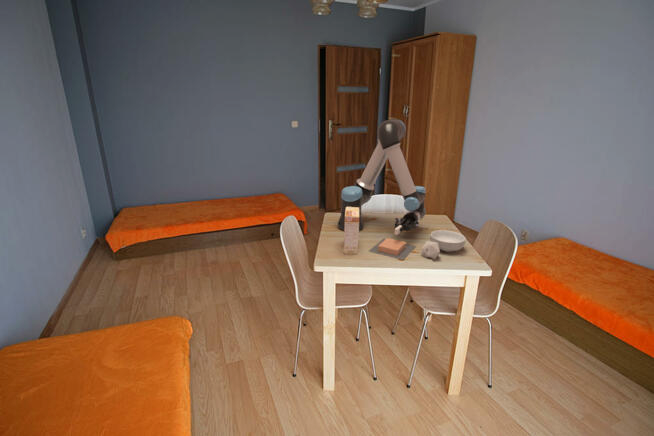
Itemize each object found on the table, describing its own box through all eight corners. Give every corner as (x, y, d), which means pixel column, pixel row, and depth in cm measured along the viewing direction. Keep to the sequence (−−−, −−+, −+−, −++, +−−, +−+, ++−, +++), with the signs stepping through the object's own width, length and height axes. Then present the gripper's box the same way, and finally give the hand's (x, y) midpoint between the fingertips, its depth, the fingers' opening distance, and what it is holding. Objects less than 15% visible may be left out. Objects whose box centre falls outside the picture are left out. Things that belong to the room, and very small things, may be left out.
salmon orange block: (387, 243, 179) (377, 251, 170) (387, 237, 178) (378, 245, 169) (405, 247, 174) (397, 256, 165) (406, 242, 174) (397, 250, 164)
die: (418, 254, 171) (417, 244, 163) (431, 244, 172) (431, 234, 165) (430, 266, 166) (430, 256, 158) (443, 255, 167) (444, 245, 160)
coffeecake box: (344, 241, 183) (345, 206, 177) (357, 242, 182) (359, 207, 176) (343, 253, 169) (344, 215, 163) (357, 254, 168) (359, 216, 162)
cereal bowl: (437, 256, 168) (439, 243, 165) (423, 243, 183) (425, 230, 181) (470, 254, 170) (472, 241, 168) (453, 241, 186) (455, 229, 183)
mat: (368, 253, 170) (368, 251, 170) (383, 240, 185) (383, 238, 185) (403, 262, 161) (403, 260, 161) (416, 248, 176) (416, 246, 176)
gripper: (422, 227, 188) (408, 241, 168) (399, 222, 194) (383, 236, 175) (423, 214, 185) (409, 227, 166) (400, 210, 191) (384, 222, 172)
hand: (396, 231), depth 170 cm, fingers closed
